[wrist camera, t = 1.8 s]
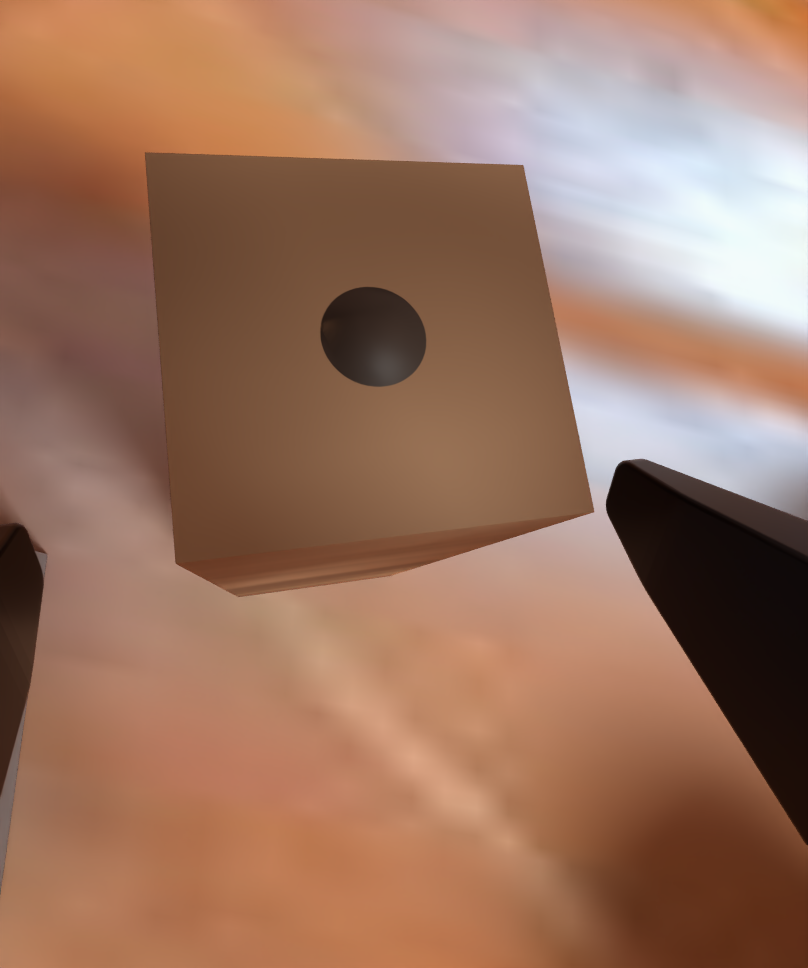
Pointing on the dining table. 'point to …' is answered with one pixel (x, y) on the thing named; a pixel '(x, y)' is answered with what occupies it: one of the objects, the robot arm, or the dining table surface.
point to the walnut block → (354, 366)
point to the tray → (12, 775)
